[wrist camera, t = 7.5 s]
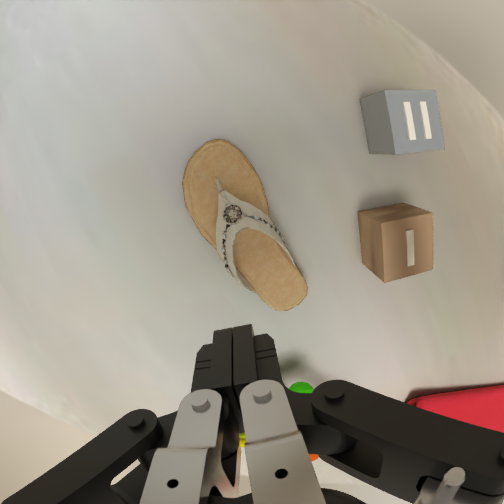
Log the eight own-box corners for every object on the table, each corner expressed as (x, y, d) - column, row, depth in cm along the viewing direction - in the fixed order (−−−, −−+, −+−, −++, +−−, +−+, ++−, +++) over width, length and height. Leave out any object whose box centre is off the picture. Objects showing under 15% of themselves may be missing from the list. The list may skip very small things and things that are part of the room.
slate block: (405, 97, 25) (436, 89, 20) (414, 148, 26) (446, 149, 21) (359, 99, 25) (385, 89, 20) (369, 153, 26) (396, 154, 21)
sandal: (225, 130, 25) (224, 124, 20) (325, 274, 29) (342, 296, 25) (161, 178, 26) (147, 183, 21) (267, 313, 30) (273, 342, 25)
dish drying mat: (503, 431, 45) (510, 441, 41) (361, 459, 39) (368, 476, 36) (540, 375, 41) (550, 384, 37) (410, 385, 35) (422, 402, 32)
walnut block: (403, 202, 28) (433, 213, 23) (406, 252, 29) (434, 270, 24) (357, 211, 28) (382, 223, 23) (361, 263, 29) (385, 283, 24)
